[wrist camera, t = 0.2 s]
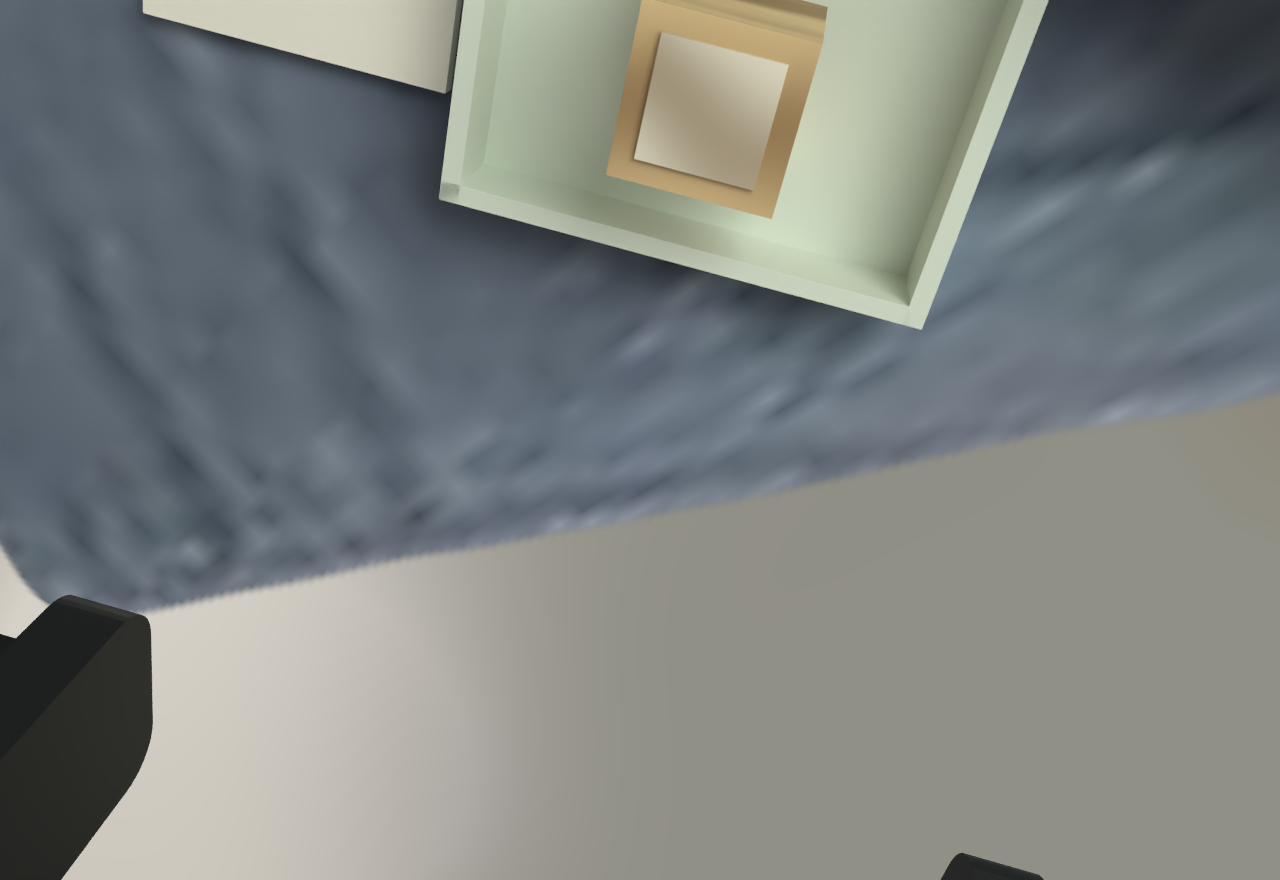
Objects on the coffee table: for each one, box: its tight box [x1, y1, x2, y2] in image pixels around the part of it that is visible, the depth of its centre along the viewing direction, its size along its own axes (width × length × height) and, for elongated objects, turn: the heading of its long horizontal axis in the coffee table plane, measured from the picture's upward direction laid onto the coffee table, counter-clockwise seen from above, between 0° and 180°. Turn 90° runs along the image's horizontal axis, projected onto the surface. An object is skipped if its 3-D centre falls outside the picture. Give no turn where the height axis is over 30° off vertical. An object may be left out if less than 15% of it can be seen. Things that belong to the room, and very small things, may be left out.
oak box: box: [606, 0, 828, 219], centre depth 31 cm, size 4×4×6 cm
